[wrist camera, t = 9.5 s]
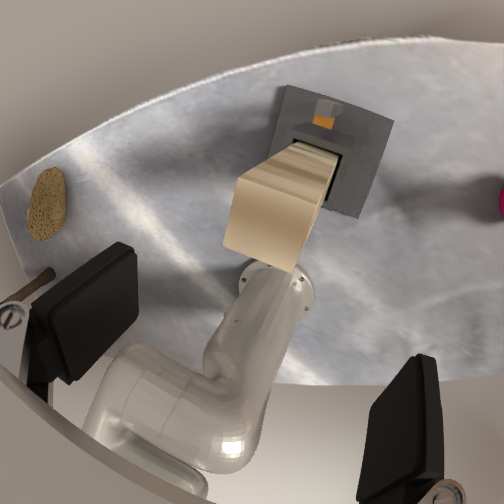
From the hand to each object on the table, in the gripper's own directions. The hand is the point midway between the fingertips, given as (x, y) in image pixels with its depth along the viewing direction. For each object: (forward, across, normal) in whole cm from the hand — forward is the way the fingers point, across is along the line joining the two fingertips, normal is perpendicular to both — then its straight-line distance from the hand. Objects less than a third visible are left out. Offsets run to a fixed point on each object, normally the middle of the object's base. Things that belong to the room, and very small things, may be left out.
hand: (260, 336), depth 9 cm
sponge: (+35, +56, +23) cm, 70 cm away
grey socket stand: (+35, +2, 0) cm, 35 cm away
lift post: (+27, +2, 0) cm, 27 cm away
